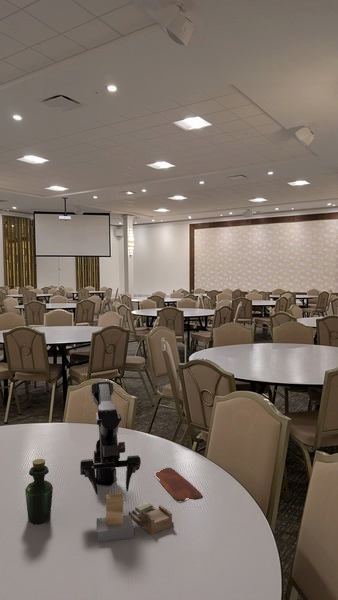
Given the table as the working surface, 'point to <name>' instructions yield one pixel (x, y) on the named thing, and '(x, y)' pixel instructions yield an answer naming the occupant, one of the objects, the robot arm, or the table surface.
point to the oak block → (114, 509)
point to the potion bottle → (39, 494)
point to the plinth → (114, 530)
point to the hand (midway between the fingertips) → (112, 492)
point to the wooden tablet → (177, 485)
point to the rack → (152, 517)
